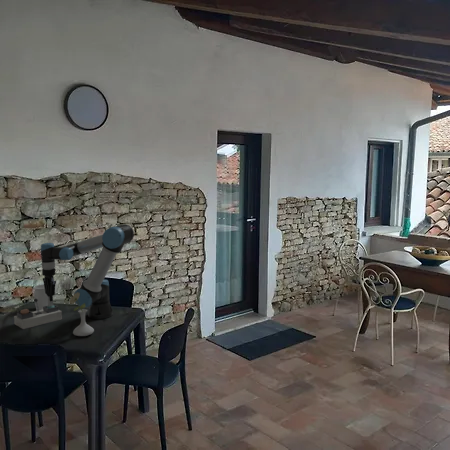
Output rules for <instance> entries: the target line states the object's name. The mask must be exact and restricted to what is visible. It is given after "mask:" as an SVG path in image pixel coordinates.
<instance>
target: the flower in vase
mask: <svg viewBox="0 0 450 450" xmlns="http://www.w3.org/2000/svg"><path fill="white" fill-rule="evenodd" d="M74 293H75V292H74ZM74 293H73V296H71V297H70V300H69V301H68V303H69V305H74V303H76V301H77V299H78V298H79V296H80V293H78V292H77V293H75V294H74ZM77 302H78V301H77ZM78 304H79V303H78ZM85 308H86V307H85V303H84V304H83V305H81V306H80V305H79V306H76V307H74V309H73V312H75V311H77V312H78V313H79V316H80V324H79V325H78V326H76V327H75V328H74V329H73V331H72V334H73V335H74V336H77V337H86V336H87V337H88V336H89V335H92V334H94V332H95V328H93V327H92V326H90V325H89V324H87V322H86V313H88V309H85Z"/></svg>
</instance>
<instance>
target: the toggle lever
mask: <svg viewBox="0 0 450 450" xmlns="http://www.w3.org/2000/svg"><path fill="white" fill-rule="evenodd" d="M37 301H38V300H37V299H35V298H34V299H33V302H34V305H35V309H36V310H35V311H37V312H39V307H38V302H37Z"/></svg>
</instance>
